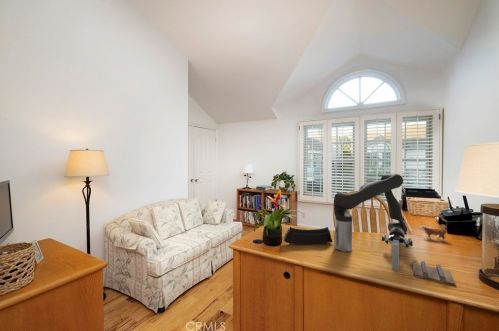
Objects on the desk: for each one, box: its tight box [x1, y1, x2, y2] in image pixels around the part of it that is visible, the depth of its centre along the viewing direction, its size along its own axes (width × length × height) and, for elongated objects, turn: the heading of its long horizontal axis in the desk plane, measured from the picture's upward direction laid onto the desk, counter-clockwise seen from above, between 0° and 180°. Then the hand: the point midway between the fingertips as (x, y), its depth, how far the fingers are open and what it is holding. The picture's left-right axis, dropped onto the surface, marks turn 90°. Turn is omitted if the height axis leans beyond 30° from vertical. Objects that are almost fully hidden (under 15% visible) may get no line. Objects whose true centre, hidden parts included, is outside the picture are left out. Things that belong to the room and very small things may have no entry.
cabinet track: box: [412, 260, 457, 287], centre depth 101 cm, size 14×13×3 cm
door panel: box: [391, 240, 400, 271], centre depth 109 cm, size 2×8×12 cm, turn 145°
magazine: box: [283, 226, 333, 246], centre depth 138 cm, size 17×3×30 cm
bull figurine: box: [419, 225, 447, 242], centre depth 146 cm, size 4×13×8 cm, turn 54°
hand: (396, 243), depth 119 cm, fingers open, 8 cm apart
